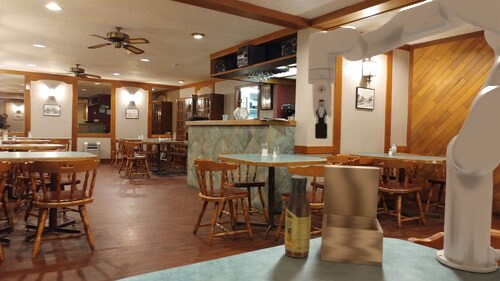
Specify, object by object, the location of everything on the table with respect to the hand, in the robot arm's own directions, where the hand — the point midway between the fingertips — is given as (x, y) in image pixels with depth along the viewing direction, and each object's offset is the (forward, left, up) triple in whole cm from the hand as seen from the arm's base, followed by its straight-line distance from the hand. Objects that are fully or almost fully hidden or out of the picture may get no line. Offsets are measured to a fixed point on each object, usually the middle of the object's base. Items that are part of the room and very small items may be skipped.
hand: (321, 138), depth 100 cm
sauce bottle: (+5, +14, -29) cm, 33 cm away
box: (-8, +9, -29) cm, 32 cm away
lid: (-8, +4, -14) cm, 17 cm away
